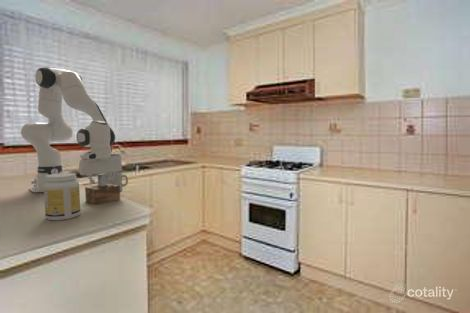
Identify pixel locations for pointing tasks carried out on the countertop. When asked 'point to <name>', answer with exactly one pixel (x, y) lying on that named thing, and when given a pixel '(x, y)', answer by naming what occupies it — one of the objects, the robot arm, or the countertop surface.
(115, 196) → the bore block
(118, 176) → the mug
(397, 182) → the countertop surface
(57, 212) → the supplement tub
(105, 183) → the cylinder
